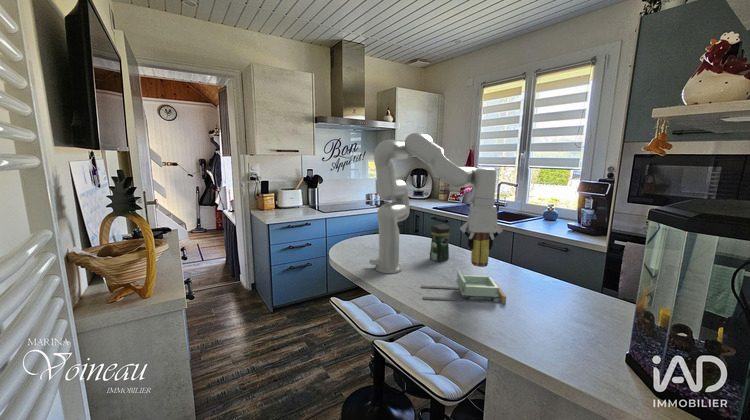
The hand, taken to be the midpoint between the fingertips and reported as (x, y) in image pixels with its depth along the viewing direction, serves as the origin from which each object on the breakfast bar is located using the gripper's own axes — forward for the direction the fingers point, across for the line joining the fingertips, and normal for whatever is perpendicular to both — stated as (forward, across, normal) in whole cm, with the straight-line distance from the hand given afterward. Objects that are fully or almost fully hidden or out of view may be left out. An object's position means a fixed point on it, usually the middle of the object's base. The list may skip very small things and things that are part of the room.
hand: (479, 248), depth 114 cm
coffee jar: (+19, -9, +40) cm, 45 cm away
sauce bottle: (+7, 0, 0) cm, 7 cm away
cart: (+19, 0, 0) cm, 19 cm away
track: (+19, -6, 0) cm, 20 cm away
